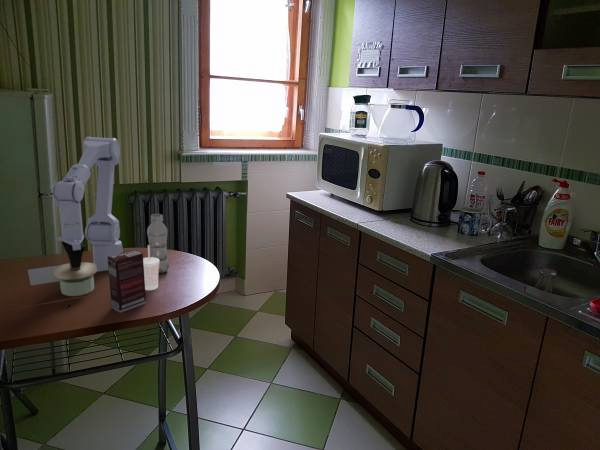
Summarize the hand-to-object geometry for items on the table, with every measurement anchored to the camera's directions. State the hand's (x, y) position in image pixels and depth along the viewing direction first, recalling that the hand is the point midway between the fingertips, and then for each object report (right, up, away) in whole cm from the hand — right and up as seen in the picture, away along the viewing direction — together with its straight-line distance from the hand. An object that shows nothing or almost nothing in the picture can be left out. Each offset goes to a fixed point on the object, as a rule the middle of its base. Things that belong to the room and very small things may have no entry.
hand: (75, 265), depth 141 cm
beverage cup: (+20, -8, +7) cm, 23 cm away
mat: (-13, -4, +13) cm, 19 cm away
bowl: (0, -8, +2) cm, 8 cm away
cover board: (0, -2, +1) cm, 2 cm away
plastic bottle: (+19, -4, +19) cm, 28 cm away
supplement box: (+18, -11, -5) cm, 22 cm away
